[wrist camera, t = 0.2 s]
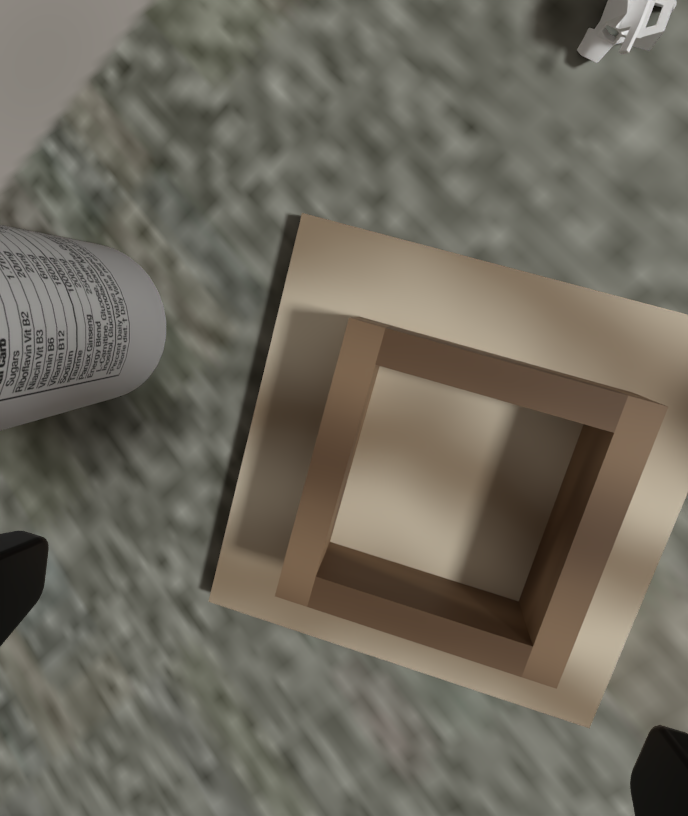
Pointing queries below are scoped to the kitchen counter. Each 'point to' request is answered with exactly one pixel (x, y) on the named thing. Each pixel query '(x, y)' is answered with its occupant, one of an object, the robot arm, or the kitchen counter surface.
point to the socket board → (459, 467)
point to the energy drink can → (72, 325)
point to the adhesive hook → (626, 27)
